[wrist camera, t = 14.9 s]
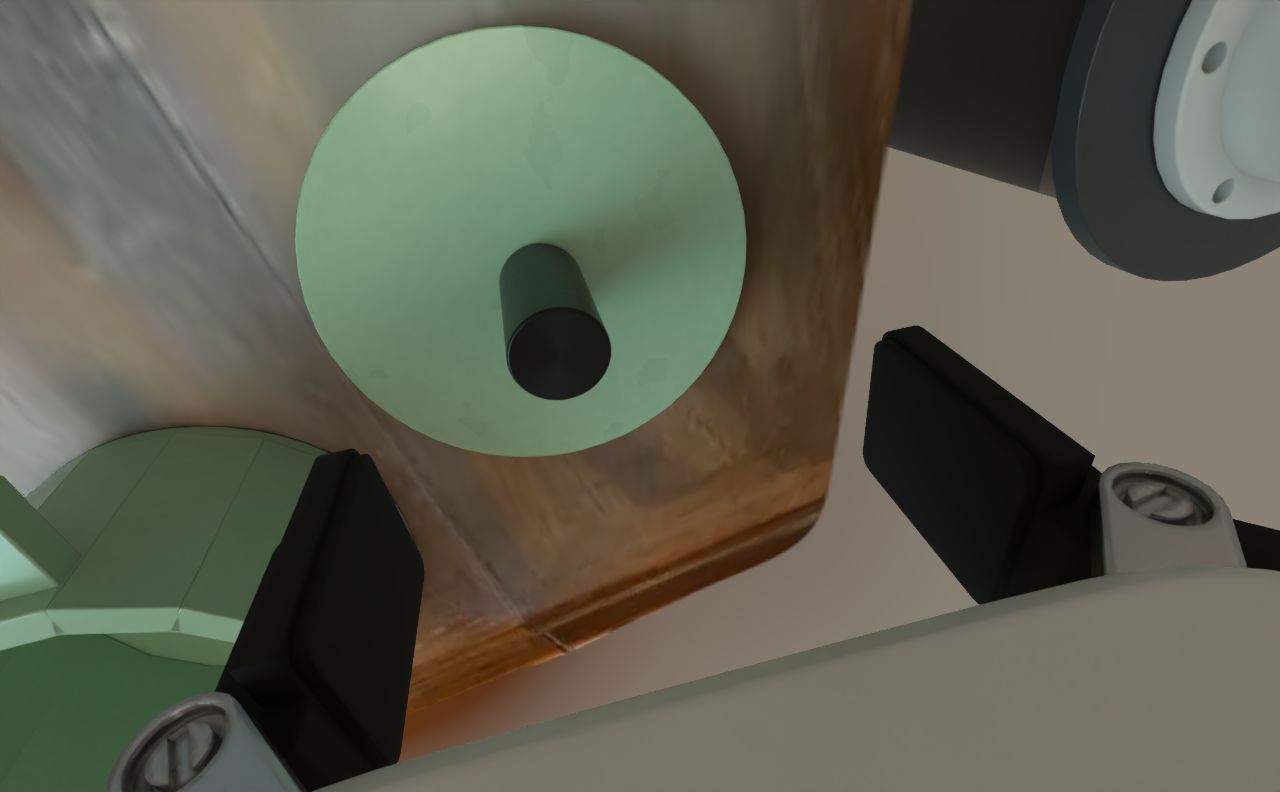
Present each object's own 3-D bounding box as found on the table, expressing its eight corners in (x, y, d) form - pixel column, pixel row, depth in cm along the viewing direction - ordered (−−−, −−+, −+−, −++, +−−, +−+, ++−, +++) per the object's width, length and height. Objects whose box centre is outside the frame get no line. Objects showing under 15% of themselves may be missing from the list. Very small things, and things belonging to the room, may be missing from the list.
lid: (725, -11, 17) (835, -25, 12) (741, 393, 24) (810, 490, 19) (207, 70, 15) (70, 94, 10) (400, 477, 23) (379, 608, 18)
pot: (305, 316, 19) (221, 462, 12) (471, 651, 29) (470, 823, 23) (-155, 412, 17) (-512, 635, 11) (192, 731, 27) (110, 939, 21)
